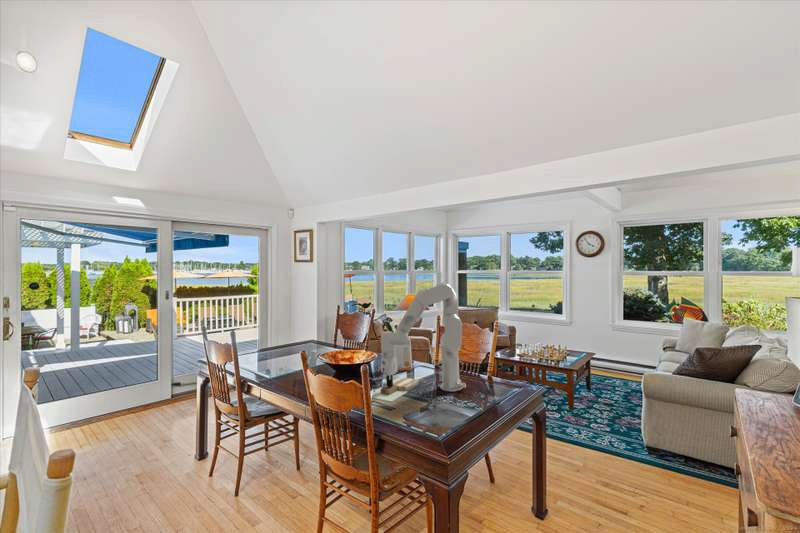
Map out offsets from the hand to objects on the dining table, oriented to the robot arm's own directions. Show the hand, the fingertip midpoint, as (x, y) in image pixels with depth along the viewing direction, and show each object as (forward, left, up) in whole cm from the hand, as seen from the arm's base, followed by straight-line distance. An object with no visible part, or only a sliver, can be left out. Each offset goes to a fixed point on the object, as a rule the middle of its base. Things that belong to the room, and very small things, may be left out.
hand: (389, 386), depth 211 cm
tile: (0, 0, -3) cm, 3 cm away
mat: (0, +4, -3) cm, 5 cm away
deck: (0, -12, -3) cm, 12 cm away
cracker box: (+17, -39, -4) cm, 42 cm away
